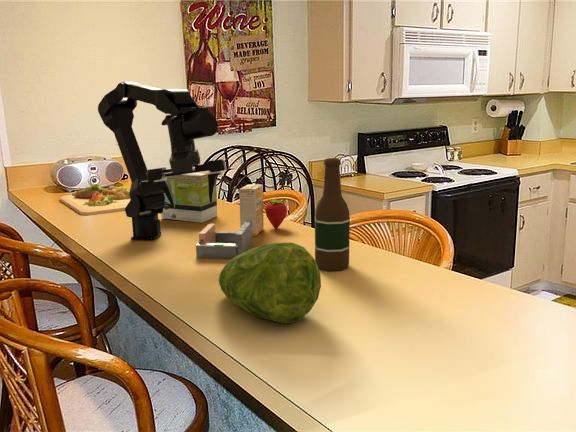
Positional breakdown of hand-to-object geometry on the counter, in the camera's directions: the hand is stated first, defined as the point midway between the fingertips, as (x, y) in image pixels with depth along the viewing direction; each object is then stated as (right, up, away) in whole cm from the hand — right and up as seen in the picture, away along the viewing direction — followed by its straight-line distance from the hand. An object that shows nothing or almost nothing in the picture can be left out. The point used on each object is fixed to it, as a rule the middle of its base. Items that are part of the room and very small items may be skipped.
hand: (192, 205), depth 134 cm
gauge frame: (+8, -11, +1) cm, 13 cm away
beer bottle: (+33, -14, -13) cm, 38 cm away
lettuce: (+19, -20, -36) cm, 45 cm away
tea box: (-7, -4, +37) cm, 38 cm away
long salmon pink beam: (+3, -11, 0) cm, 11 cm away
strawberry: (+20, -6, +22) cm, 31 cm away
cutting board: (-43, +1, +63) cm, 76 cm away
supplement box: (+14, -7, +18) cm, 24 cm away
